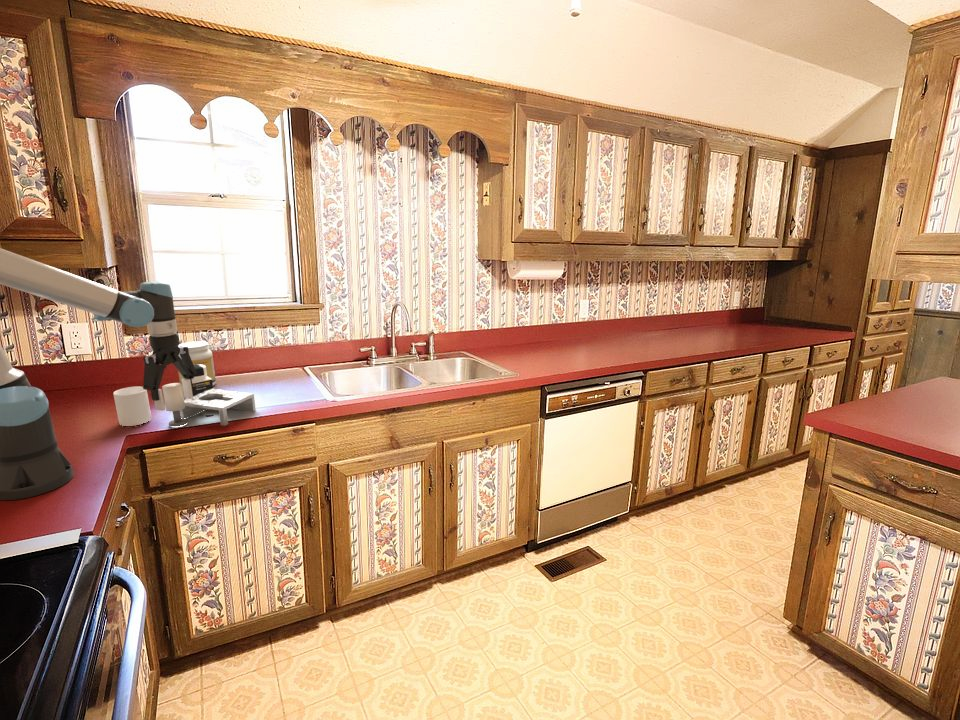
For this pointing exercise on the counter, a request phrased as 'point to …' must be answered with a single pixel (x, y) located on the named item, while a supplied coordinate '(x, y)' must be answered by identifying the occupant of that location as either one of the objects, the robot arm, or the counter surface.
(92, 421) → the counter surface
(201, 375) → the medicine bottle
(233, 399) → the white table-shaped stand
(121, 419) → the mug
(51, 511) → the counter surface
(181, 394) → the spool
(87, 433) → the counter surface
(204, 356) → the supplement tub
